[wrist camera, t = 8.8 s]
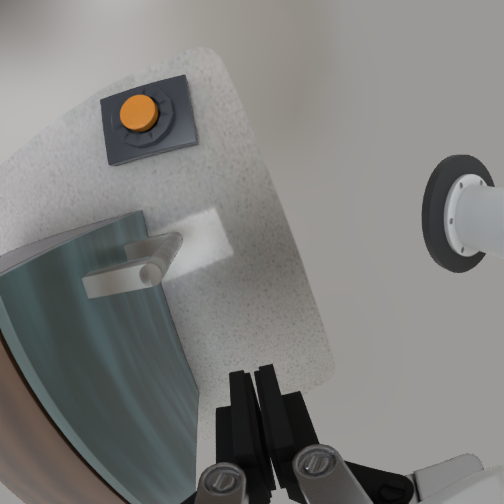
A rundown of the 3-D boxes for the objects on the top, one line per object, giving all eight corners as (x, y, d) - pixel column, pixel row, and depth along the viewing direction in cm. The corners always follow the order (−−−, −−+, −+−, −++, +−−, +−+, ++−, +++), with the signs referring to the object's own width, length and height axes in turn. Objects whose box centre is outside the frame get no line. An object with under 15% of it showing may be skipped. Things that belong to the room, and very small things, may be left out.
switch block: (187, 80, 28) (183, 68, 24) (198, 144, 30) (195, 139, 26) (106, 104, 27) (93, 95, 23) (115, 166, 29) (102, 164, 25)
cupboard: (132, 212, 31) (-23, 285, 7) (191, 393, 37) (183, 545, 14) (23, 245, 30) (-107, 314, 6) (90, 399, 36) (42, 516, 13)
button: (156, 95, 25) (152, 90, 23) (160, 126, 25) (157, 123, 24) (123, 104, 24) (118, 100, 23) (127, 136, 25) (122, 133, 24)
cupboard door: (185, 199, 31) (94, 251, 8) (234, 386, 38) (253, 540, 14) (134, 212, 31) (-18, 283, 7) (192, 393, 37) (185, 543, 14)
